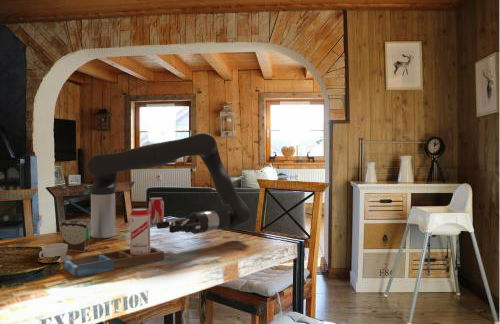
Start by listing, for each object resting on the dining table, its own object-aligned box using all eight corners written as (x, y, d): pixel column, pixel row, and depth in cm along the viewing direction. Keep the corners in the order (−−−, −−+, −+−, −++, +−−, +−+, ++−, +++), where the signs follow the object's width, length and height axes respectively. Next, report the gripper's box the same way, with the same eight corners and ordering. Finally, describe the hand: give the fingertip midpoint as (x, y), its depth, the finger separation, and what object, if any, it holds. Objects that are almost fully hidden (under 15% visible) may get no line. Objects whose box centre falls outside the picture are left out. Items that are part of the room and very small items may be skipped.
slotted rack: (63, 268, 117) (63, 257, 117) (148, 252, 135) (148, 243, 135) (76, 277, 108) (76, 265, 108) (165, 259, 126) (164, 249, 126)
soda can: (160, 224, 185) (160, 199, 185) (146, 224, 186) (145, 198, 186) (166, 222, 192) (166, 197, 192) (152, 221, 193) (152, 197, 193)
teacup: (59, 255, 132) (59, 241, 132) (79, 259, 127) (78, 244, 127) (30, 262, 124) (30, 247, 124) (49, 267, 119) (49, 251, 119)
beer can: (132, 256, 130) (132, 207, 129) (151, 255, 130) (151, 207, 130) (128, 261, 124) (127, 210, 123) (148, 261, 124) (148, 210, 124)
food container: (100, 248, 141) (100, 220, 140) (88, 252, 135) (87, 223, 135) (72, 245, 145) (72, 218, 144) (59, 249, 139) (59, 221, 139)
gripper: (192, 209, 148) (153, 213, 138) (215, 214, 138) (174, 219, 127) (192, 229, 148) (153, 235, 138) (215, 235, 138) (174, 242, 127)
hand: (163, 227), depth 132 cm, fingers open, 8 cm apart
